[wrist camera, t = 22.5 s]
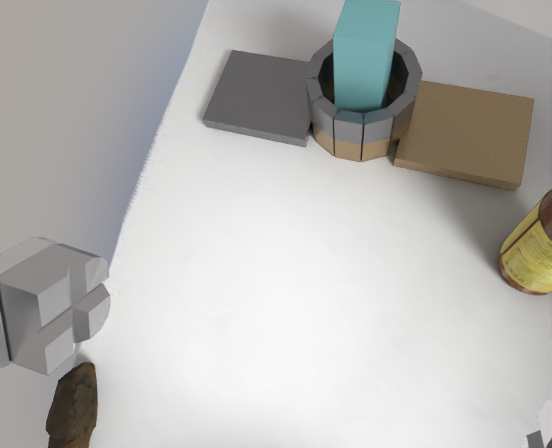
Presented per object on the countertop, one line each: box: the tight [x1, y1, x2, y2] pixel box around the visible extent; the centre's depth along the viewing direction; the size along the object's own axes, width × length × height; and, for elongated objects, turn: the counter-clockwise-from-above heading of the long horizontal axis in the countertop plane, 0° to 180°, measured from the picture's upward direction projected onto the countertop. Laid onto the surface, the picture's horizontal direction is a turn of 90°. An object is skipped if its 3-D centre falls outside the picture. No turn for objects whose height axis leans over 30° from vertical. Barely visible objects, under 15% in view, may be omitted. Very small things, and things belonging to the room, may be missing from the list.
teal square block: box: [333, 0, 401, 114], centre depth 43 cm, size 4×4×14 cm
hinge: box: [203, 38, 534, 191], centre depth 47 cm, size 34×11×7 cm, turn 72°
